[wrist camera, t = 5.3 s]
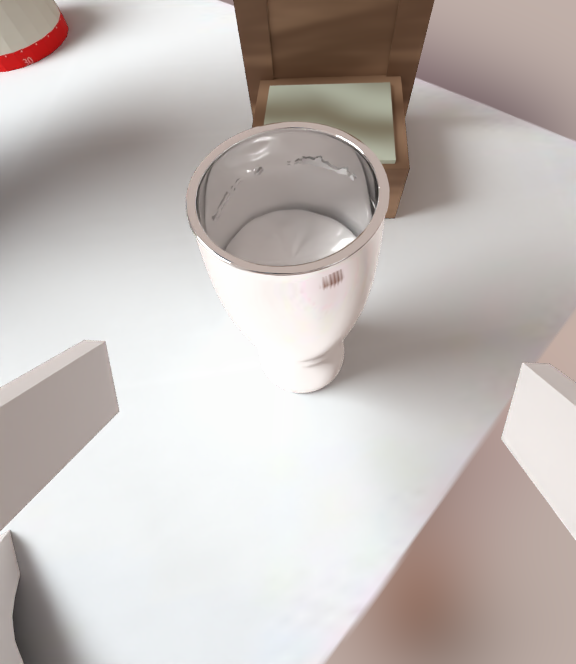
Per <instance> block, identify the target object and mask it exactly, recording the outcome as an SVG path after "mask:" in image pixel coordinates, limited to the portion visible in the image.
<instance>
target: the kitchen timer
mask: <svg viewBox="0 0 576 664" xmlns="http://www.w3.org/2000/svg"><path fill="white" fill-rule="evenodd" d="M67 33H68V26H67V23H66V21H65V19H64V17H63V15H62V13H61V12H60V10H59V8H58V6H57V4H56V3H55V1H54V0H0V72H6V71H11V70H15V69H19V68H23V67H25V66H28V65H30V64H33V63H35V62H38V61H39V60H41V59H43V58H44V57H46V56H48V55H49V54H51V53H52V52H53V51H55V50H56V49H57V48H58V47H59V46H60V45H61V44H62V43H63V41H64V40H65V38H66V37H67Z"/></svg>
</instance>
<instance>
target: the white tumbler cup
mask: <svg viewBox="0 0 576 664" xmlns="http://www.w3.org/2000/svg"><path fill="white" fill-rule="evenodd" d="M388 204H389V183H388V178H387V175H386V172H385V170H384V167H383V166H382V164H381V162H380V160H379V159H378V157H377V156H376V155H375V154H374V152H373V151H372V150H371V149H370V148H369V147H368V146H366V145H365V144H364V143H363V142H362V141H360V140H359V139H357V138H356V137H354V136H352V135H351V134H349V133H347V132H345V131H342V130H340V129H337V128H334V127H331V126H328V125H324V124H319V123H313V122H302V121H288V122H277V123H271V124H266V125H262V126H258V127H254V128H251V129H249V130H246V131H243V132H241V133H239V134H237V135H235V136H233V137H231V138H229V139H228V140H226V141H224V142H223V143H221V144H220V145H219V146H217V147H216V148H215V149H214V150H212V151H211V152H210V153H209V154H208V155H207V156H206V157H205V158H204V160H203V161H202V162H201V163H200V164H199V166H198V167H197V169H196V170H195V172H194V174H193V176H192V178H191V180H190V183H189V186H188V189H187V194H186V214H187V219H188V223H189V225H190V228H191V230H192V232H193V234H194V236H195V238H196V241H197V243H198V246H199V249H200V252H201V255H202V258H203V261H204V264H205V267H206V269H207V272H208V275H209V277H210V280H211V282H212V284H213V286H214V289H215V291H216V293H217V295H218V298H219V300H220V301H221V303H222V305H223V307H224V308H225V310H226V312H227V313H228V315H229V317H230V318H231V320H232V321H233V323H234V324H235V325H236V326H237V327H238V328H239V330H240V331H241V332H242V333H243V334H244V335H245V336H246V338H247V339H249V340H250V341H251V342H252V343H253V344H254V345H255V346H256V347H257V348H258V349H259V358H260V363H261V366H262V369H263V371H264V373H265V374H266V376H267V377H268V378H269V380H270V381H271V382H272V383H274V384H275V385H276V386H278V387H279V388H281V389H283V390H286V391H289V392H293V393H310V392H314V391H317V390H319V389H321V388H323V387H325V386H326V385H328V384H329V383H330V382H331V381H333V379H334V378H335V377H336V376H337V374H338V373H339V371H340V369H341V367H342V364H343V360H344V344H343V340H344V339H345V338H346V336H347V335H348V333H349V332H350V331H351V329H352V328H353V327H354V325H355V323H356V321H357V320H358V318H359V316H360V314H361V313H362V311H363V309H364V307H365V305H366V302H367V299H368V296H369V293H370V291H371V288H372V285H373V281H374V277H375V273H376V269H377V264H378V260H379V254H380V248H381V242H382V234H383V227H384V220H385V215H386V212H387V208H388Z"/></svg>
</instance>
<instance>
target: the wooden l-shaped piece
mask: <svg viewBox="0 0 576 664" xmlns="http://www.w3.org/2000/svg"><path fill="white" fill-rule="evenodd" d="M233 1H234V7H235V13H236V19H237V25H238V31H239V37H240V43H241V49H242V55H243V61H244V67H245V73H246V79H247V85H248V91H249V97H250V103H251V109H252V115H253V125H252V128H254V127H258V126H262V125H266V124H271V123H277V122H288V121H302V122H313V123H319V124H324V125H328V126H331V127H334V128H337V129H340V130H342V131H345V132H347V133H349V134H351V135H352V136H354V137H356V138H357V139H359V140H360V141H362V142H363V143H364V144H365V145H366V146H368V147H369V148H370V149H371V150H372V151H373V152H374V154H375V155H376V156H377V157H378V159H379V160H380V162H381V164H382V166H383V167H384V170H385V172H386V175H387V178H388V183H389V204H388V208H387V212H386V215H385V218H395V215H396V212H397V208H398V205H399V202H400V199H401V195H402V192H403V189H404V185H405V182H406V179H407V175H408V172H409V169H410V168H409V157H408V147H407V136H406V125H405V116H406V112H407V108H408V104H409V100H410V96H411V92H412V88H413V84H414V80H415V76H416V72H417V68H418V64H419V60H420V56H421V52H422V48H423V44H424V40H425V36H426V32H427V28H428V24H429V20H430V15H431V12H432V7H433V3H434V0H233Z"/></svg>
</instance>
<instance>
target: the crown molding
mask: <svg viewBox="0 0 576 664" xmlns="http://www.w3.org/2000/svg"><path fill="white" fill-rule="evenodd" d="M19 578H20V571H19V566H18V562H17V558H16V554H15V550H14V545H13V541H12V537H11V533H10V530H8V531H7V532H5V533H4V534H2V535H1V536H0V664H24V663H23V660H22V658H21V655H20V653H19V650H18V647H17V645H16V642H15V636H14V628H13V619H12V615H13V608H14V601H15V594H16V590H17V586H18V582H19Z"/></svg>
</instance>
